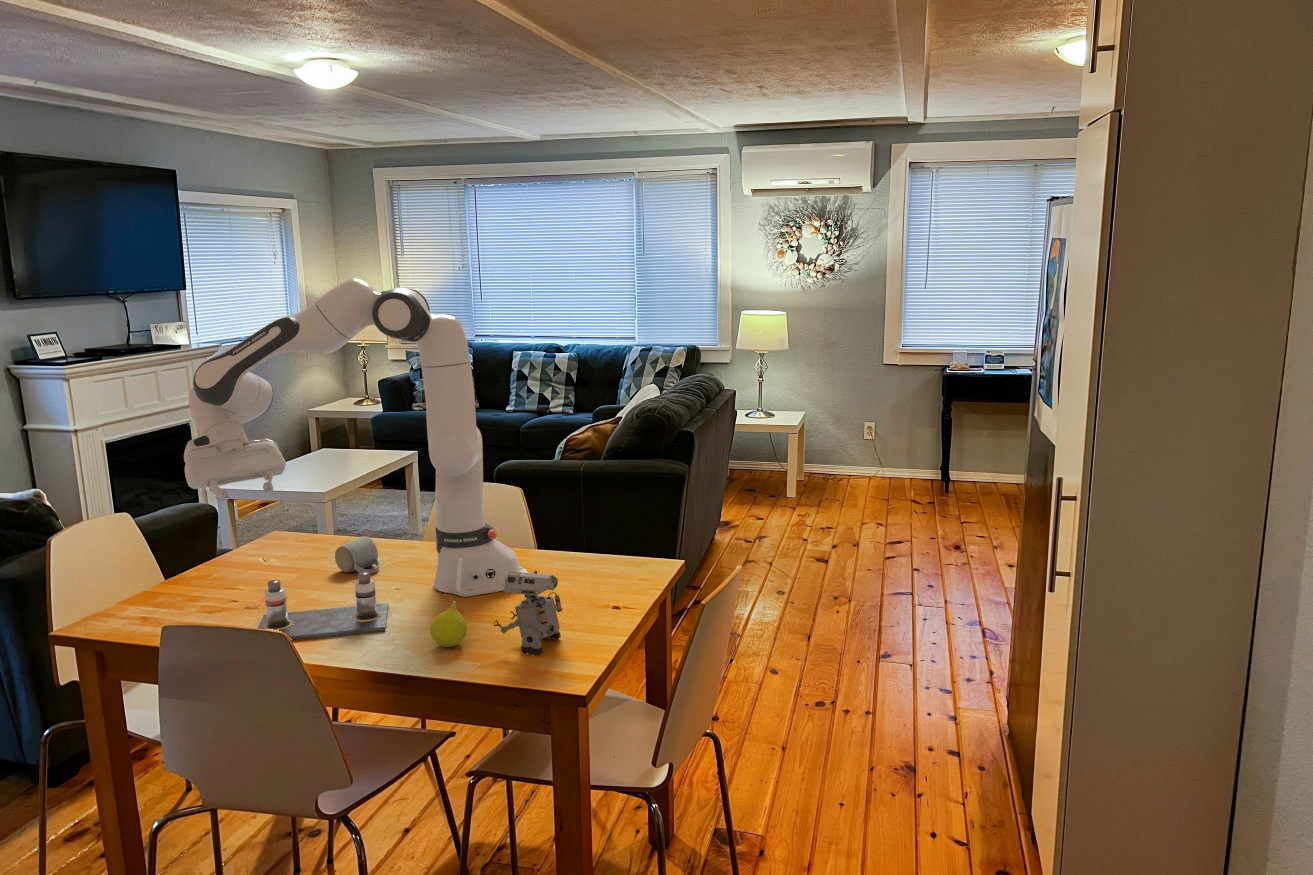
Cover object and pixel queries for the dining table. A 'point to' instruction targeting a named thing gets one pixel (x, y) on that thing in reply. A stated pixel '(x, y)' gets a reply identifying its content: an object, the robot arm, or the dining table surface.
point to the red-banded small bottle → (276, 605)
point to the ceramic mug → (357, 556)
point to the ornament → (448, 627)
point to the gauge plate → (330, 623)
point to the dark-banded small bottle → (365, 596)
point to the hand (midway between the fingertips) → (247, 495)
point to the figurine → (533, 609)
